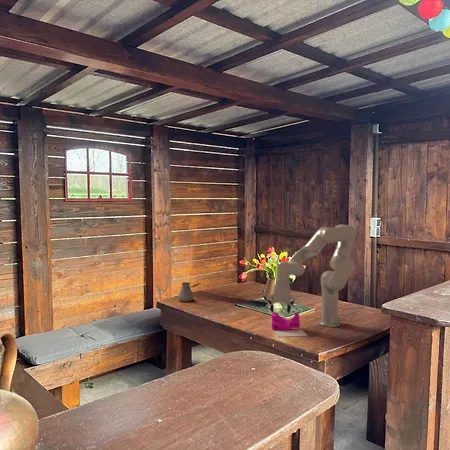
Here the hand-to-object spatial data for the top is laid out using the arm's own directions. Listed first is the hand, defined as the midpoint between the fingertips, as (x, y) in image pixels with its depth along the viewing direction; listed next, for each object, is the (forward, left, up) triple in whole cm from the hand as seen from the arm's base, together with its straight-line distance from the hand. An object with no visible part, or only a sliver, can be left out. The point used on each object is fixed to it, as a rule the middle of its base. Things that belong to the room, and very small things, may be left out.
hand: (280, 312), depth 233 cm
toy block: (-2, +5, -7) cm, 9 cm away
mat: (-3, +13, -9) cm, 16 cm away
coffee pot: (+49, -63, -9) cm, 81 cm away
